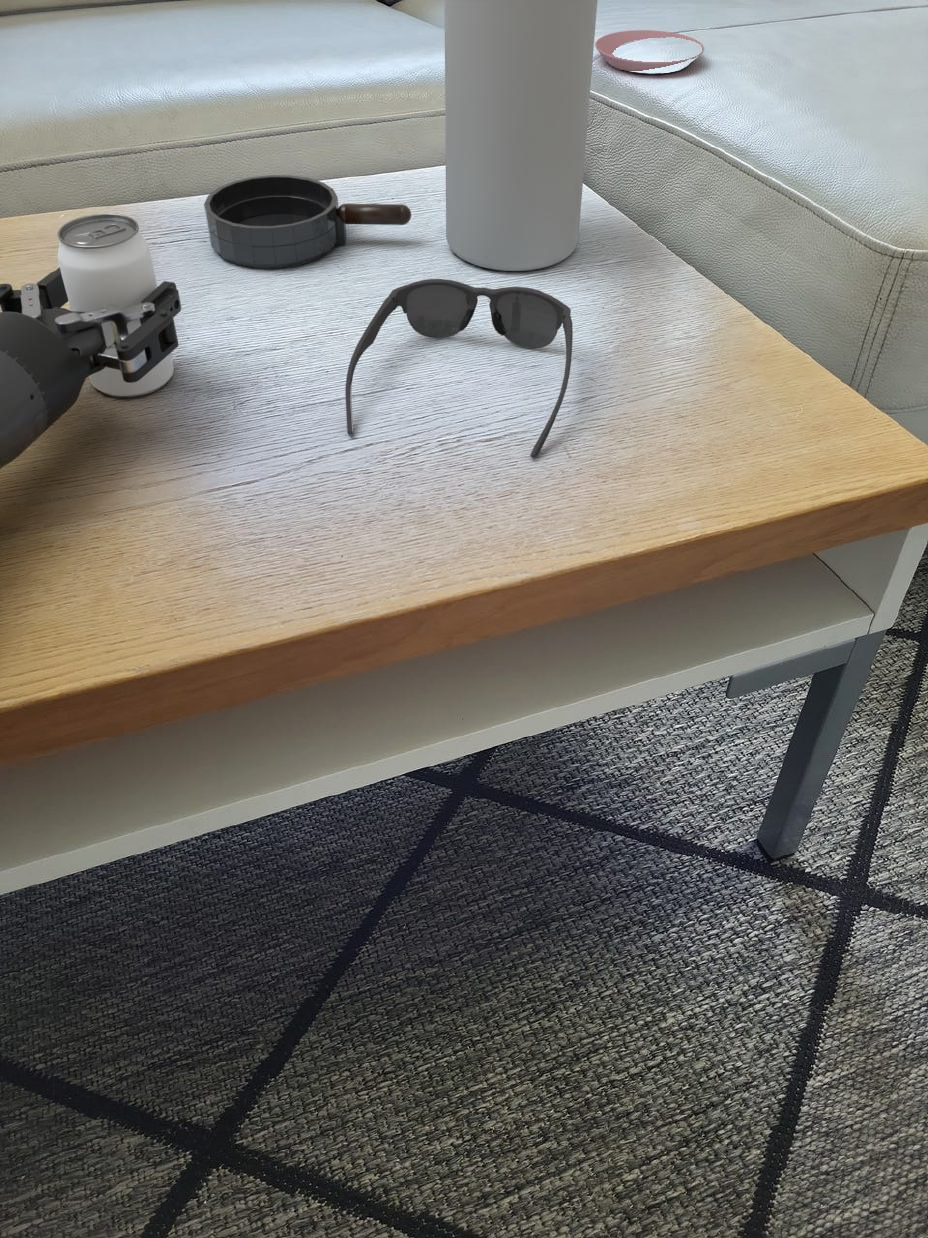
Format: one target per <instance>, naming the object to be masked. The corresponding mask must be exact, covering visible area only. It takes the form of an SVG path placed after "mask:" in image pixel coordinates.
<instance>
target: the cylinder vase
mask: <svg viewBox="0 0 928 1238" xmlns="http://www.w3.org/2000/svg"><path fill="white" fill-rule="evenodd" d="M443 7H444V9H443V10H444V127H445V128H444V131H445V133H444V134H445V137H444V141H445V143H444V144H445V147H444V148H445V239H446V242H447V246H448V247H449V248H450V250H451V251H452V252H453V253H454V254H455V255H456V256H457V257H459V258H460V259H461V260H463V261H465V262H467V263H470V264H472V265H475V266H478V267H481V268H485V269H489V270H495V271H505V272H524V271H535V270H539V269H543V268H548V267H551V266H553V265H554V266H555V265H556V264H558V263H560V262H562V261H563V260H565V259H567V258H568V257H569V256H570V255H572V253H573V252H574V251H575V249H576V248H577V246H578V244H579V236H580V223H581V213H582V212H581V211H582V200H583V185H584V175H585V174H584V173H585V162H586V161H585V160H586V151H587V150H586V149H587V138H588V137H587V135H588V125H589V124H588V123H589V110H590V100H591V98H590V97H591V87H592V73H593V60H594V50H595V49H594V48H595V35H596V26H597V25H596V23H597V11H598V0H444V5H443Z"/></svg>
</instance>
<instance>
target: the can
mask: <svg viewBox="0 0 928 1238" xmlns="http://www.w3.org/2000/svg"><path fill="white" fill-rule="evenodd" d="M57 238H58V240H59V244H58V248H57V253H56V254H57V255H56V256H57V261H58V266H59V267H60V270H61V274H62V278H63V282H64V286H65V289H66V293H67V297H68V304H69V308H70V311H75V312H88V311H92V310H95V309H99V308H102V307H106V306H109V305H115V306H117V307H118V308H119V309H123V308H127V307H130V306H134V305H137V304H141V301H142V300H144V299H145V298H146V297H147V296H148V295H149V294H150V293H151V292H152V291H154V290H155V289H156V288H157V287H158V286H159V285H158V283H157V278H156V273H155V267H154V263H153V259H152V254H151V249H150V247H149V243H148V241H147V240H146V238H145V237H144V235H143V234H142V232H140V226H139V223H138V222H137V220H135V219H134V218H133V217H130V216H128V215H125V214H119V213H111V212H110V213H108V212H107V213H106V212H105V213H94V214H93V213H92V214H88V215H84V216H79V217H77V218H75V219H74V218H73V219H71V220H70V221H68V222H66V223H64V224H63V225H62V226H61V227H60V228H59V229H58V231H57ZM101 325H102V328H103V332H104V336H105V341H106V346H110V345H112V344H113V342H114V334H113V330H112V326H111V322H110V321H109V322H105V323H102V324H101ZM140 326H141V323H140V319H137V320H134V321H130V322H129V323H128V324H127V329H128V333H129V334H130V333H132V332H134V331H135V330H136V329H137V328H138V327H140ZM174 371H175V368H174V360H173V354H172V352H171V353H170V354H169V355H168V356H166V357H165V358H164V359H163V360H162V361H161V362H160V363H158V364H157V365H156V366H155V367H154V368H153V369H152V370H150V371H149V372H148V373H147V374H146V375H145V376H144V377H142V378H141V379H140V380H139V381H137V382H133V383H128V382H125V381H124V380H123V376H122V372H121V370H117V369H112V368H108V367H105V368H104V369H103V370H101V371H99V372H97V373H94V374H92V375H90V376H88V378H89V381H90V383H91V385H92V386H93V388H95V389H96V390H98V391H99V392H101V393H103V394H105V395H107V396H109V397H114V398H121V399H123V398H124V399H125V398H126V399H127V398H128V399H129V398H137V397H143V396H147V395H150V394H152V393H155V392H157V391H159V390H161V389H162V388H163V387H165V386H166V385H167V384H168V383H169V382H170V380H171V378H172V377H173V375H174Z"/></svg>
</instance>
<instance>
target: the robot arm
mask: <svg viewBox="0 0 928 1238" xmlns="http://www.w3.org/2000/svg"><path fill="white" fill-rule="evenodd" d="M157 286H158V287H157V288H156V289H155V290H154V291H152V292H151V293H150V294H149V295H148V296H147V297H146V298H145V299H144V300H142V301H141V304H137V305H134V306H130V307H127V308H123V309H119V308H118V307H117V306H115V305H109V306H106V307H102V308H99V309H95V310H92V311H88V312H75V311H71V309H68V308H65V307H63V306H64V305H66V304H68V303H69V301H68V297H67V293H66V289H65V286H64V282H63V278H62V274H61V270H60V266H59V267H57V269H55V270H54V271H51V272H49V273H48V274H47V275H46V276H44V277H43V278H41V280H39V281H38V282H37V283H33V282H32V283H26V284H23V285H22V286H21V287H20V289H13V286H12V284H10V283H0V309H1V312H0V470H1V469H2V468H4V467H6V466H8V465H10V463H12V462H13V461H15V460H16V459H17V458H18V457H20V456H21V455H22V454H23V453H24V452H25V451H26V450H27V449H28V448H29V447H30V446H32V445H33V444H34V443H35V442H36V441H37V440H38V439H39V438H40V437H41V436H42V435H44V433H45V432H47V430H49V429H50V428H51V427H52V426H53V425H54V424H55V423H56V422H57V421H58V420H60V418H61V417H62V416H63V415H65V413H67V412H68V411H69V410H70V409H71V408H72V407H73V406H74V405H75V404H76V402H77V401H78V399H79V397H80V394H81V392H82V389H83V386H84V383H85V381H86V379H87V378H89V376H90V375H92V374H94V373H97V372H99V371H101V370H103V369H104V368H105V367H108V368H112V369H117V370H121V372H122V376H123V380H124V381H125V382H128V383H133V382H137V381H139V380H140V379H141V378H142V377H144V376H145V375H146V374H147V373H148V372H149V371H150V370H152V369H153V368H154V367H155V366H156V365H157V364H158V363H160V362H161V361H162V360H163V359H164V358H165V357H166V356H168V355H169V354H170V353H171V354H172V353H173V352H174V350H176V349H177V348H178V347H179V346H180V345H179V339H178V333H177V329H176V325H175V320H174V319H175V317H176V316H177V315H178V314H179V313H180V312H181V311H182V302H181V298H180V292H179V289H177V285H176V283H175V282H173V281H167V280H164V281H162V282H161V283H160V284H159V285H157ZM137 319H140V323H141V326H140V327H138V328H137V329H136V330H135V331H134V332H132V333H130V334H129V333H128V329H127V324H128V323H129V322H130V321H134V320H137ZM109 321H110V322H111V326H112V330H113V334H114V342H113V344H112V345H110V346H106V341H105V336H104V332H103V328H102V325H101V324H102V323H105V322H109Z"/></svg>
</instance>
